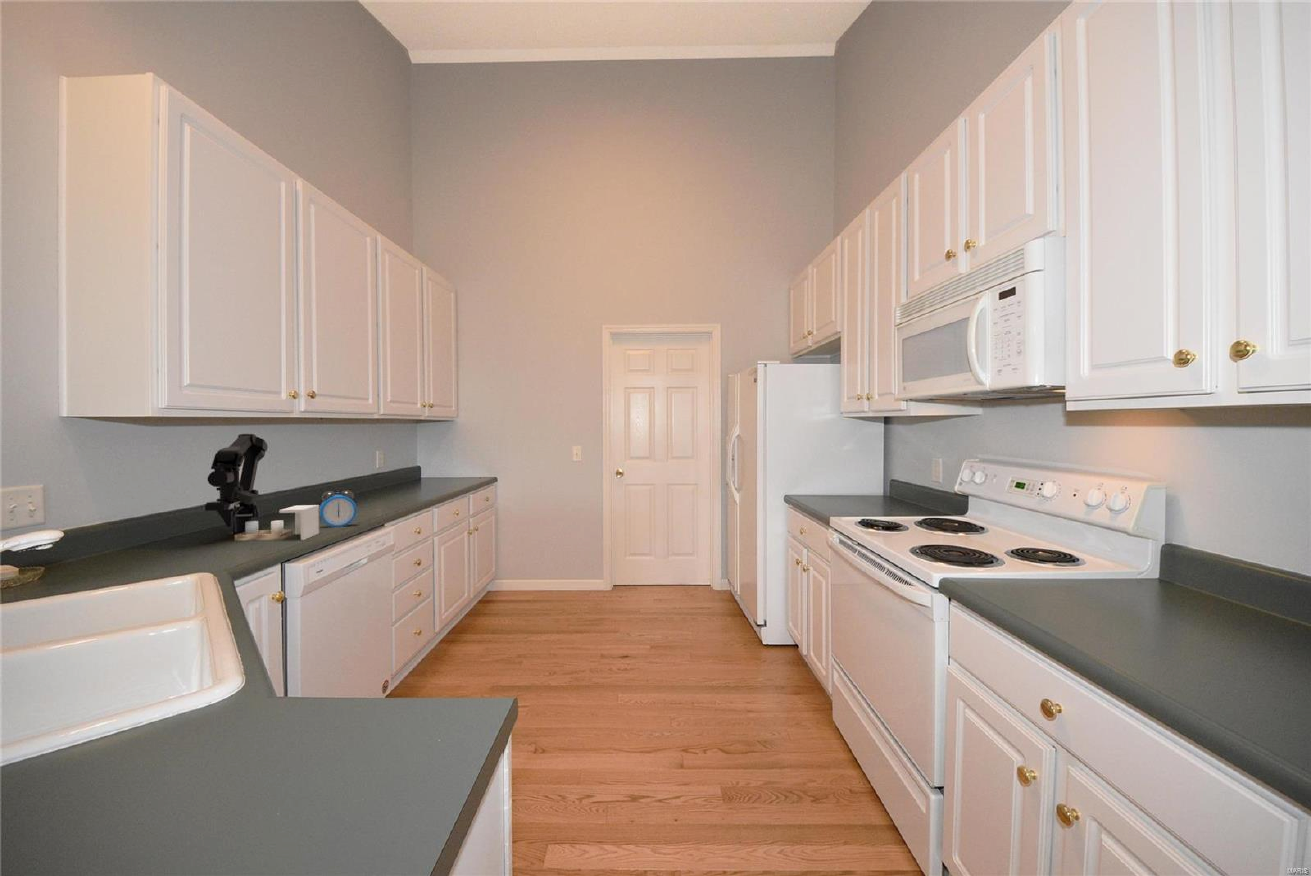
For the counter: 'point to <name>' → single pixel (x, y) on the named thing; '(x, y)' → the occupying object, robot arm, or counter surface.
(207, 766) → the counter surface
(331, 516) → the alarm clock
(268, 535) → the tray
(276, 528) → the white rounded cylinder
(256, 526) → the grey rounded cylinder
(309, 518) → the white l-shaped bracket
